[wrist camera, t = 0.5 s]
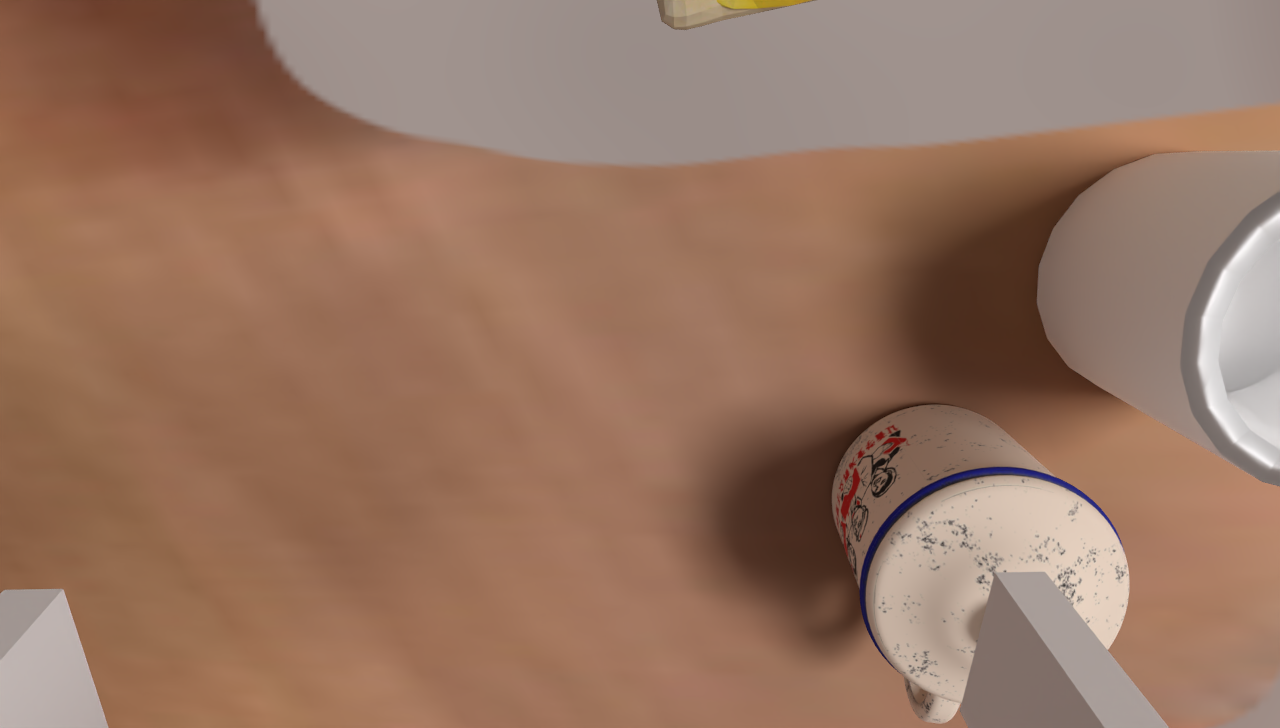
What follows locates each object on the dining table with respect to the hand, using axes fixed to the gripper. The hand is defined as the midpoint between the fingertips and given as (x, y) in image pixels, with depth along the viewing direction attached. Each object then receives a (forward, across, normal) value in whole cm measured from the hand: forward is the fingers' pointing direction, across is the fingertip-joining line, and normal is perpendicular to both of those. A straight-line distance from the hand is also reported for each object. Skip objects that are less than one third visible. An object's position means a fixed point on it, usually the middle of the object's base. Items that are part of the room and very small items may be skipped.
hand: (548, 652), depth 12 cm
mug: (+22, +26, -2) cm, 34 cm away
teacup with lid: (+21, +16, -13) cm, 29 cm away
